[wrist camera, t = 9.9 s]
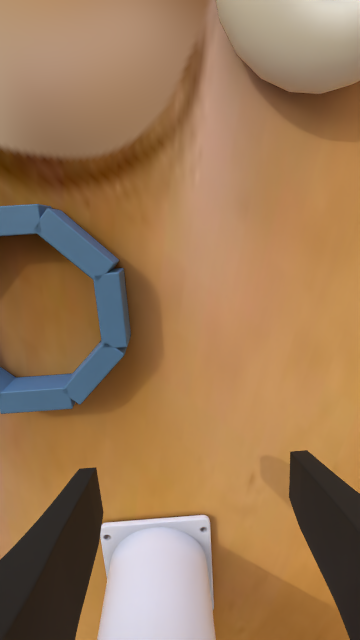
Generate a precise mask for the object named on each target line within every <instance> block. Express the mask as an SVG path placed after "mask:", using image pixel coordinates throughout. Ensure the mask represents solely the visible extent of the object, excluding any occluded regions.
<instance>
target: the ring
mask: <svg viewBox="0 0 360 640" xmlns="http://www.w3.org/2000/svg"><path fill="white" fill-rule="evenodd" d="M28 234H38V235H39V236H40V237H42V238H43V239H44V240H45V241H47V242H48V243H49V244H50V245H51V246H53V247H54V248H55V249H56V250H58V251H59V252H60V253H61V254H62V255H64V256H65V257H66V258H67V259H69V260H70V261H71V262H72V263H73V264H75V265H76V266H77V267H78V268H80V269H81V270H82V271H83V272H84V273H86V274H87V275H88V276H89V277H91V278H92V279H93V280H94V288H95V295H96V303H97V310H98V318H99V325H100V333H101V341H100V343H99V344H98V345H97V346H96V347H95V348H94V350H93V351H92V352H91V353H90V354H89V355H88V357H87V358H86V359H85V360H84V361H83V362H82V363H81V365H80V366H79V367H78V368H77V369H76V370H75V372H74V373H73V374H60V375H46V376H32V377H18V378H16V377H14V376H13V375H11V374H10V373H9V372H7V371H6V370H4V369H3V368H1V367H0V412H1V414H6V413H19V412H33V411H47V410H60V409H72V408H73V406H74V404H75V402H76V403H78V404H79V405H80V404H81V403H82V402H83V401H84V400H85V399H86V398H87V397H88V396H89V394H90V393H91V392H92V391H93V390H94V389H95V388H96V387H97V385H98V384H99V383H100V382H101V381H102V380H103V379H104V378H105V377H106V375H107V374H108V373H109V372H110V371H111V370H112V369H113V368H114V366H115V365H116V364H117V363H118V362H119V361H120V360H121V359H122V357H123V356H124V355H125V352H126V349H127V346H128V343H129V340H130V337H131V331H130V321H129V312H128V303H127V293H126V284H125V275H124V268H116V269H113V268H114V267H115V266H116V264H117V263H118V262H119V259H117V258H116V257H115V256H114V255H113V254H112V253H110V252H109V251H108V250H107V249H106V248H105V247H103V246H102V245H101V244H100V243H99V242H97V241H96V240H95V239H94V238H93V237H92V236H90V235H89V234H88V233H87V232H86V231H85V230H83V229H82V228H81V227H80V226H79V225H77V224H76V223H75V222H74V221H73V220H72V219H70V218H69V217H68V216H67V215H66V214H65V213H63V212H62V211H61V210H56V209H52V208H51V207H50V206H45V205H39V204H31V205H14V206H0V236H12V235H28Z"/></svg>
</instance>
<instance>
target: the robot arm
mask: <svg viewBox="0 0 360 640" xmlns="http://www.w3.org/2000/svg"><path fill="white" fill-rule="evenodd" d="M289 498H290V501H291V504H292V507H293V510H294V513H295V516H296V518H297V521H298V524H299V526H300V529H301V531H302V533H303V535H304V537H305V539H306V541H307V544H308V546H309V548H310V550H311V552H312V554H313V556H314V558H315V560H316V562H317V564H318V567H319V569H320V571H321V573H322V575H323V577H324V579H325V581H326V583H327V585H328V587H329V590H330V592H331V594H332V596H333V598H334V600H335V603H336V605H337V607H338V610H339V612H340V615H341V617H342V620H343V622H344V625H345V628H346V630H347V633H348V635H349V638H350V640H360V494H359V493H358V492H357V491H355V490H354V489H353V488H351V487H350V486H349V485H348V484H346V483H345V482H344V481H343V480H342V479H340V478H339V477H338V476H337V475H335V474H334V473H333V472H332V471H331V470H329V469H328V468H327V467H326V466H325V465H324V464H322V463H321V462H320V461H319V460H318V459H316V458H315V457H314V456H313V455H312V454H311V453H309V452H308V451H307V450H306V451H294V452H290V485H289ZM102 519H103V507H102V501H101V495H100V489H99V482H98V476H97V470H96V468H84V469H79V470H78V471H77V472H76V474H75V475H74V476H73V477H72V479H71V480H70V481H69V482H68V484H67V485H66V486H65V488H64V489H63V490H62V491H61V493H60V494H59V495H58V496H57V498H56V499H55V500H54V501H53V503H52V504H51V505H50V506H49V507H48V509H47V510H46V511H45V512H44V513H43V515H42V516H41V517H40V518H39V519H38V521H37V522H36V523H35V524H34V525H33V526H32V527H31V528H30V529H29V530H28V532H27V533H26V534H25V535H24V536H23V537H22V538H21V539H20V540H19V541H18V543H17V544H16V545H15V546H14V547H13V548H12V549H11V550H10V551H9V552H8V553H7V554H6V555H5V556H4V557H3V558H2V559H1V560H0V640H75V637H76V632H77V627H78V623H79V618H80V614H81V610H82V607H83V603H84V599H85V595H86V591H87V587H88V584H89V580H90V576H91V572H92V568H93V564H94V560H95V556H96V553H97V549H98V544H99V539H100V538H101V544H102V550H103V556H104V563H105V569H106V575H107V585H106V591H105V597H104V603H103V609H102V615H101V620H100V626H99V632H98V638H97V640H216V637H215V628H214V620H213V610H214V599H213V576H212V553H211V531H210V519H209V517H208V516H206V515H195V516H183V517H170V518H158V519H145V520H132V521H120V522H107V523H103V524H102ZM202 527H205V528H202ZM108 535H109V536H108Z"/></svg>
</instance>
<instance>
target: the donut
mask: <svg viewBox="0 0 360 640" xmlns="http://www.w3.org/2000/svg"><path fill="white" fill-rule="evenodd" d="M216 5H217V10H218V15H219V20H220V23H221V25H222V27H223V29H224V31H225V33H226V34H227V36H228V38H229V40H230V42H231V44H232V46H233V48H234V50H235V52H236V54H237V55H238V56H239V57H240V58H241V59H242V60H243V61H244V62H245V63H246V64H247V65H248V66H249V67H250V68H251V69H252V70H253V71H254V72H255V73H256V74H257V75H258V76H259V77H260V78H261V79H263V80H265V81H267V82H269V83H271V84H273V85H275V86H278V87H280V88H282V89H284V90H286V91H288V92H297V93H312V94H322V93H325V92H329V91H332V90H335V89H339V88H342V87H345V86H349V85H352V84H354V83H357V82H358V81H360V0H216Z"/></svg>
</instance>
